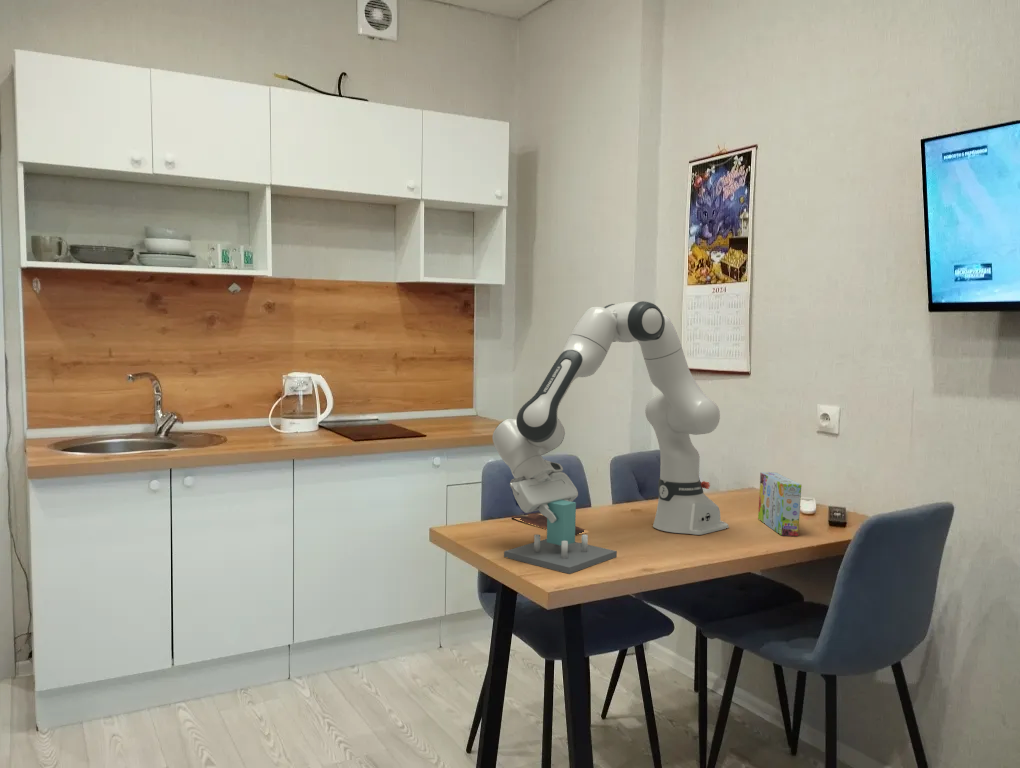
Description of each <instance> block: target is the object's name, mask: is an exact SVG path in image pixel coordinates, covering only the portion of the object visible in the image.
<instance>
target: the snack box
mask: <svg viewBox="0 0 1020 768" xmlns="http://www.w3.org/2000/svg"><path fill="white" fill-rule="evenodd" d="M759 480H760V481H759V492H758V493H759V498H758V513H757V515H758V516H757V519H760V520H761V521H762V522H761V521H760V520H759V521H760V522H761V523H763V524H764V523H765V524H764V525H766V526H767V527H769V528H770V529H772V530H773V531H774V532H775V533H777V534H778V533H779V534H778V535H780V536H782V537H798V536H799V531H800V530H799V529H800V527H799V526H800V512H801V501H802V500H801V499H802V498H801V497H802V484H801V483H800V482H797V481H796V480H792V479H791V478H788V477H786V476H784V475H783V474H780V473H778V472H770V471H764V472H763V471H761V472H760V477H759Z"/></svg>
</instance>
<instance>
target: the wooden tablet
mask: <svg viewBox="0 0 1020 768" xmlns="http://www.w3.org/2000/svg"><path fill="white" fill-rule="evenodd" d="M511 518H521V519H520V520H522V521H524V522H526V523H530V524H533V525H536V526H539V527H542V528H541V529H543V528H545V529H544V530H546V529H547V517H545V516H544V515H542V514H541V513H539V514H538V513H532V512H531V513H529V514H528V515H515V516H512V517H511ZM539 527H538V528H539ZM584 530H586V529H585V528H582V527H580V526H576V525H575V536H578V535H577V534H579V533H582V532H584Z"/></svg>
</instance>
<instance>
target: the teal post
mask: <svg viewBox="0 0 1020 768" xmlns="http://www.w3.org/2000/svg"><path fill="white" fill-rule="evenodd" d="M548 507H549V508H548V509H549V510H550V511H552V512H553V513H556V515H557V516H558V518H559V519H558V521H557V522H555V523H551V522H550V521H549V519H548V518H547V530H546V539H547V542H548V543H552V544H557V545H561V546H562V541H568V544H571V543H574V542H576V535H575V526H576V516H577V515H576V513H577V512H576V510H577V502H575V501H572V502H570V501H565V500H559V501H555V502H551V503H548Z"/></svg>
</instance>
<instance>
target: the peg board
mask: <svg viewBox="0 0 1020 768" xmlns="http://www.w3.org/2000/svg"><path fill="white" fill-rule="evenodd" d="M533 536H534V537H533V539H534V540H533V541H534V542H531V543H528V544H524V545H520V546H517V547H515V548H510V549H507V550H504V551H503V557H504V558H505V557H508V558H507V559H509V558H510V559H509V560H513V559H514V561H517V562H521V563H524V564H530V565H533V566H537V567H540V568H545V569H548V570H549V569H550V570H552V571H556V572H559V573H560V572H561V573H565V574H568V575H571V574H573V573H576V572H579V571H581V570H584V569H587V568H589V567H590V568H591V567H592V566H595V565H597V564H601V563H604V562H607V561H609V560H612V559H615V558H617V554H618V552H617V550H614V549H609V548H605V547H600V546H595V545H591V544H588V542H589V540H588V538H589V536H588V534H582V535H581V542H577V541H575V542H574V543H571V544H568V541H562V546H561V545H557V544H552V543H548V542H547V538H545V539H541V534H534V535H533Z"/></svg>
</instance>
